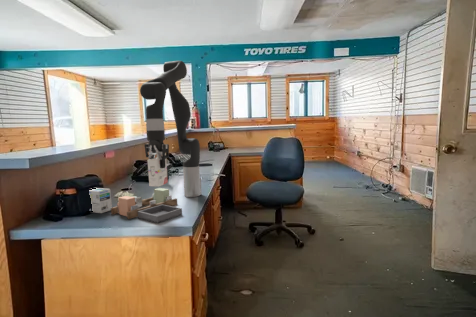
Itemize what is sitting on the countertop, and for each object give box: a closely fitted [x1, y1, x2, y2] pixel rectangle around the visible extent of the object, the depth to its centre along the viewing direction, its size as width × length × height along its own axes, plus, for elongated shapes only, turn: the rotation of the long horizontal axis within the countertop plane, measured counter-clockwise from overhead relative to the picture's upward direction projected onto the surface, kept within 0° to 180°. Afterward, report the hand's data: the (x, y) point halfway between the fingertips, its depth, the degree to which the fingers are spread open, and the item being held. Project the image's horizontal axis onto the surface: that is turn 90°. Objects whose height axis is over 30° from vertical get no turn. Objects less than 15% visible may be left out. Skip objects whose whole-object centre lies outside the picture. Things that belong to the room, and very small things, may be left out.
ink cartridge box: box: [146, 152, 169, 187], centre depth 125 cm, size 9×5×15 cm, turn 168°
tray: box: [137, 204, 183, 224], centre depth 127 cm, size 14×14×3 cm
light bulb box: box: [89, 187, 113, 214], centre depth 139 cm, size 11×7×11 cm, turn 65°
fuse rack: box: [110, 193, 178, 220], centre depth 139 cm, size 28×14×5 cm, turn 144°
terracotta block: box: [118, 195, 136, 217], centre depth 131 cm, size 4×7×8 cm, turn 54°
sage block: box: [153, 187, 170, 204], centre depth 147 cm, size 4×7×8 cm, turn 54°
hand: (157, 167), depth 125 cm, fingers closed on ink cartridge box, 6 cm apart
